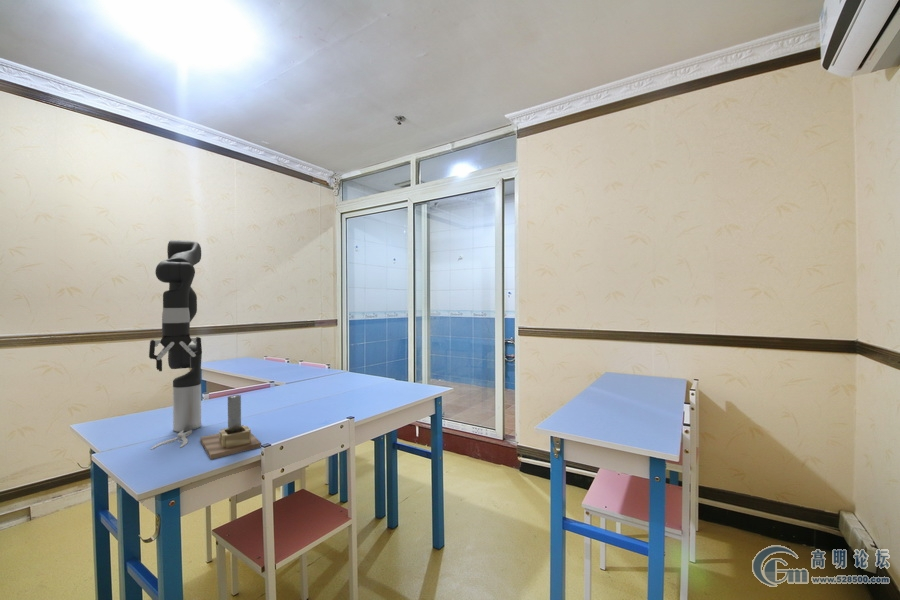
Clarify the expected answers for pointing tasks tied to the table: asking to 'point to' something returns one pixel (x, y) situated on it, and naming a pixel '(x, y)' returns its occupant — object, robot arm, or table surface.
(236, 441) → the socket board
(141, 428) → the table surface
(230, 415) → the steel pin
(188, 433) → the pliers
